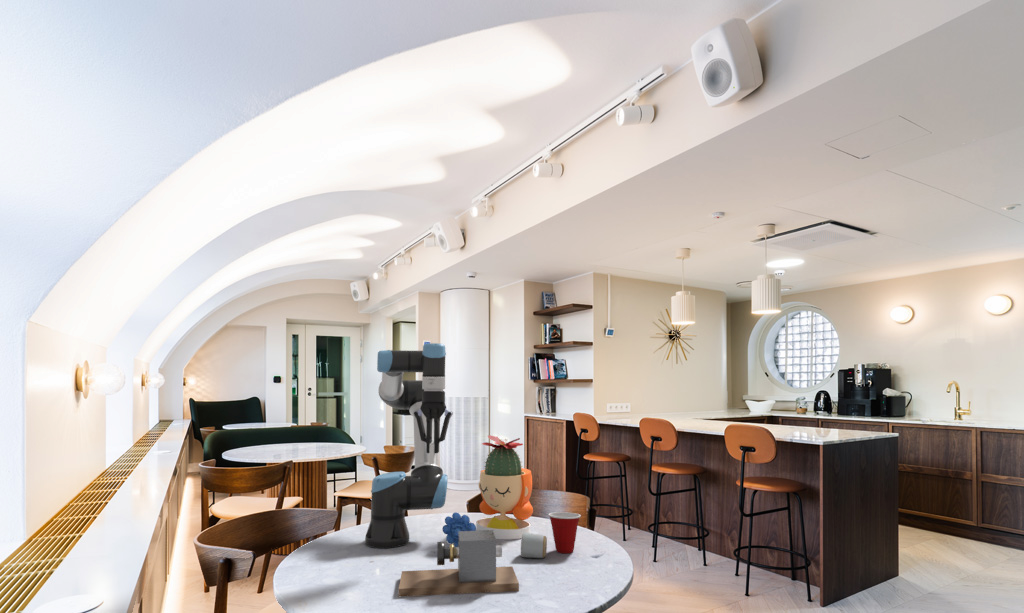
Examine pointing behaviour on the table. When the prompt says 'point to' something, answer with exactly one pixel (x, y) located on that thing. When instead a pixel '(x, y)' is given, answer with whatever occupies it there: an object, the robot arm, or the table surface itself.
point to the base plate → (453, 582)
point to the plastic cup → (564, 530)
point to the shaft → (454, 552)
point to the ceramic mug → (533, 545)
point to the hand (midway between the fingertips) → (432, 463)
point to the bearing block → (477, 556)
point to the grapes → (456, 527)
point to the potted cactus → (505, 492)
